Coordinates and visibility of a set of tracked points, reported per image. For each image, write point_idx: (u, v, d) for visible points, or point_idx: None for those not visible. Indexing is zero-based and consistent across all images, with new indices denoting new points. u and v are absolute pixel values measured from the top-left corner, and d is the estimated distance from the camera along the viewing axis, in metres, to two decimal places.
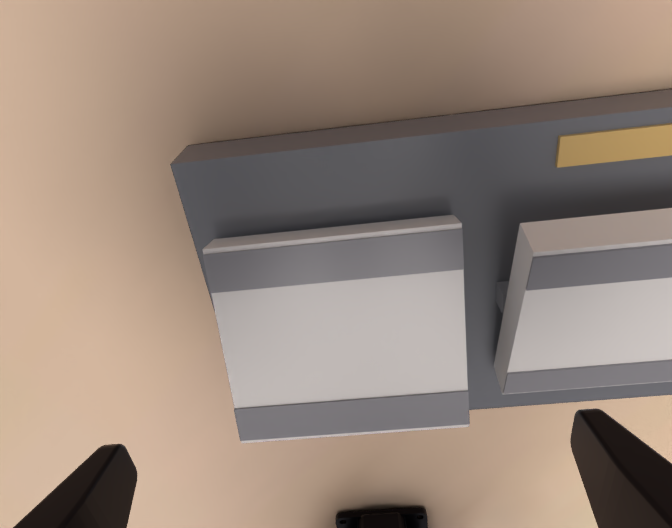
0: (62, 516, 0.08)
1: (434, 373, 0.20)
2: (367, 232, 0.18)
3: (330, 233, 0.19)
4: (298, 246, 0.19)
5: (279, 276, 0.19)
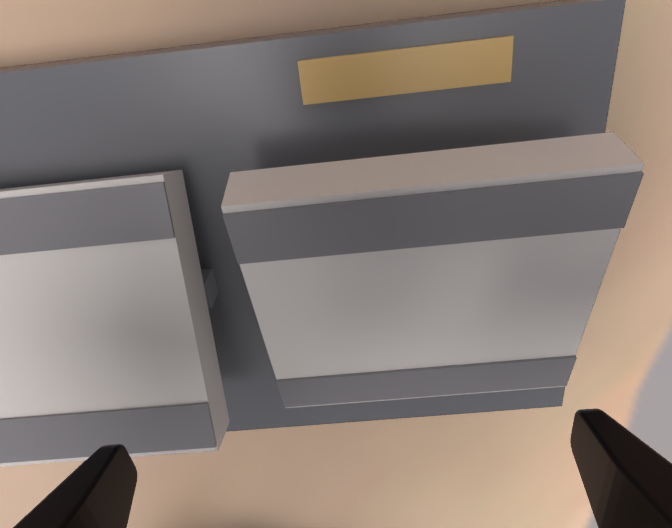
0: (62, 516, 0.08)
1: (160, 379, 0.15)
2: (42, 187, 0.14)
3: (4, 190, 0.14)
4: None
5: None
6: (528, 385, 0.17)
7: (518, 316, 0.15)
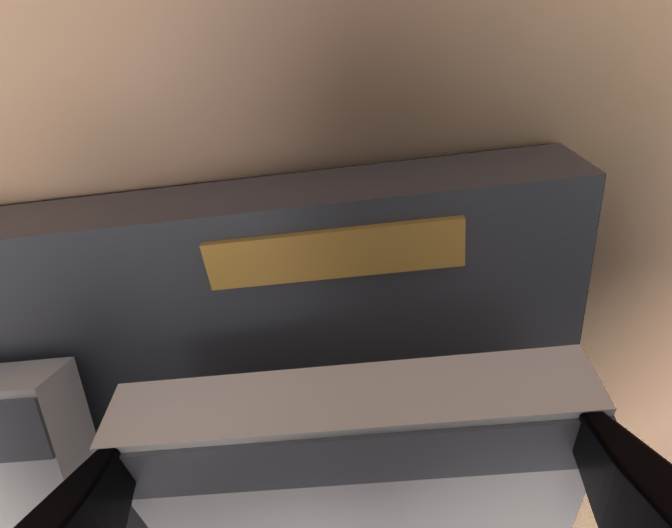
0: (62, 516, 0.08)
1: None
2: None
3: None
4: None
5: None
6: None
7: None
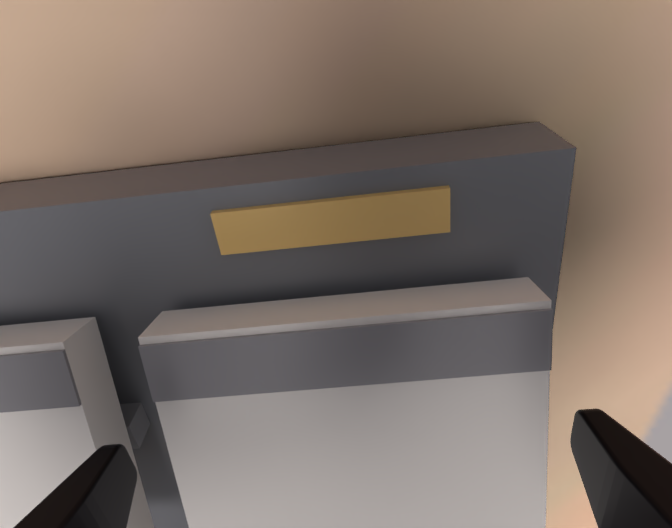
0: (62, 516, 0.08)
1: None
2: None
3: None
4: None
5: None
6: None
7: (464, 479, 0.13)
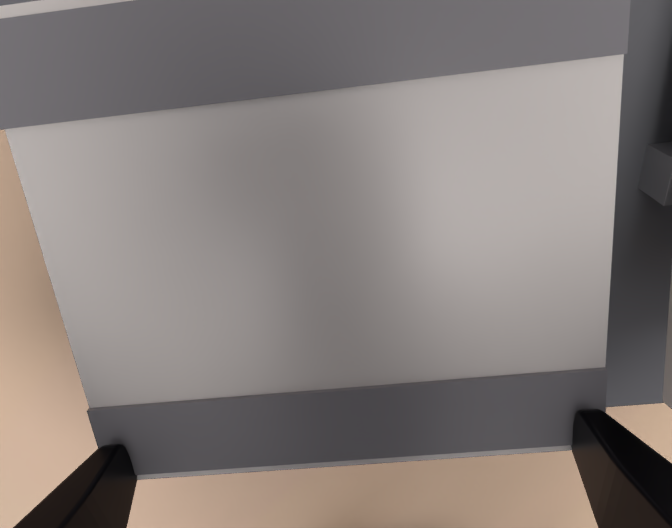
0: (62, 516, 0.08)
1: (531, 327, 0.09)
2: None
3: None
4: None
5: (162, 80, 0.08)
6: None
7: None
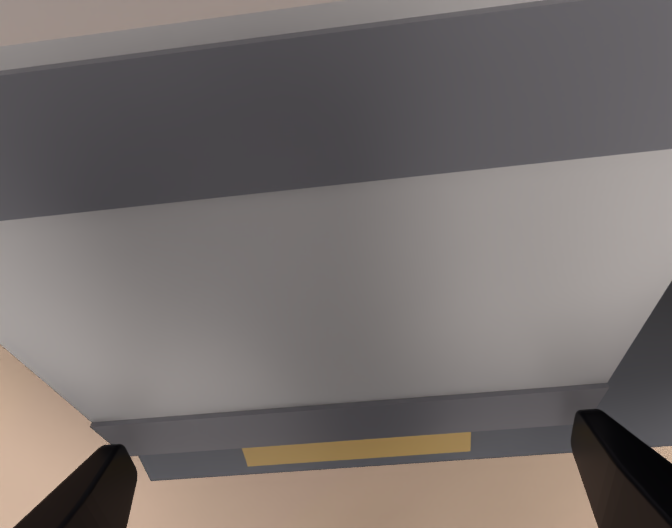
0: (62, 516, 0.08)
1: (543, 362, 0.08)
2: None
3: None
4: (110, 63, 0.04)
5: (77, 179, 0.05)
6: None
7: None
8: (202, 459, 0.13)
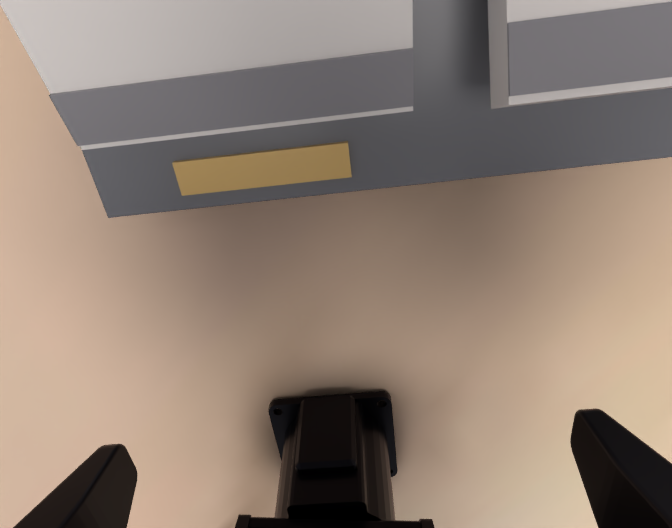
0: (62, 516, 0.08)
1: (358, 16, 0.12)
2: None
3: None
4: None
5: None
6: None
7: None
8: (147, 193, 0.17)
